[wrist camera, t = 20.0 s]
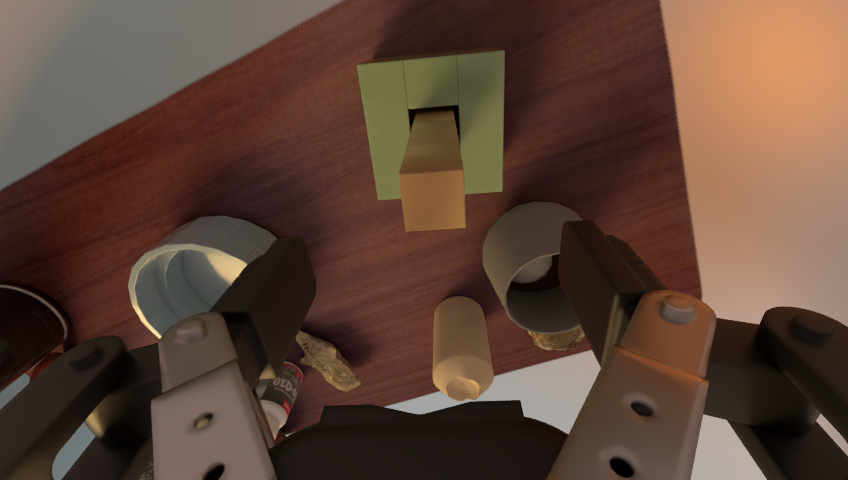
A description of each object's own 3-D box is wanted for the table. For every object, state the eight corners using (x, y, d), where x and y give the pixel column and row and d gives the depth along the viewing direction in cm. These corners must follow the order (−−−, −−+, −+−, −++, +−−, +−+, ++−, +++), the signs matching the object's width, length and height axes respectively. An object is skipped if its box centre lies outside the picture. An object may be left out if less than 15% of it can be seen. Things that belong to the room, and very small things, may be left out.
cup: (530, 287, 39) (557, 360, 30) (458, 242, 37) (464, 308, 28) (598, 220, 35) (651, 283, 26) (522, 166, 33) (553, 214, 24)
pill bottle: (311, 376, 47) (288, 439, 40) (286, 390, 48) (258, 453, 41) (284, 353, 45) (254, 415, 38) (258, 369, 47) (224, 431, 39)
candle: (459, 286, 39) (465, 359, 31) (494, 315, 41) (508, 391, 32) (423, 315, 41) (419, 390, 33) (458, 341, 43) (462, 419, 34)
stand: (387, 174, 34) (378, 200, 28) (371, 58, 29) (356, 64, 24) (492, 166, 33) (502, 191, 28) (493, 46, 28) (505, 50, 23)
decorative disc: (590, 302, 40) (593, 307, 39) (581, 347, 43) (584, 353, 42) (528, 303, 40) (530, 308, 39) (524, 347, 43) (525, 353, 42)
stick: (422, 132, 32) (405, 232, 16) (419, 100, 30) (398, 174, 15) (452, 130, 31) (466, 228, 16) (451, 97, 30) (464, 169, 14)
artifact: (299, 326, 40) (362, 390, 41) (317, 307, 42) (375, 369, 44) (271, 344, 44) (329, 402, 46) (289, 327, 46) (343, 382, 48)
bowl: (201, 326, 44) (168, 367, 38) (146, 217, 37) (98, 249, 31) (319, 321, 42) (302, 362, 37) (286, 208, 36) (259, 239, 30)
